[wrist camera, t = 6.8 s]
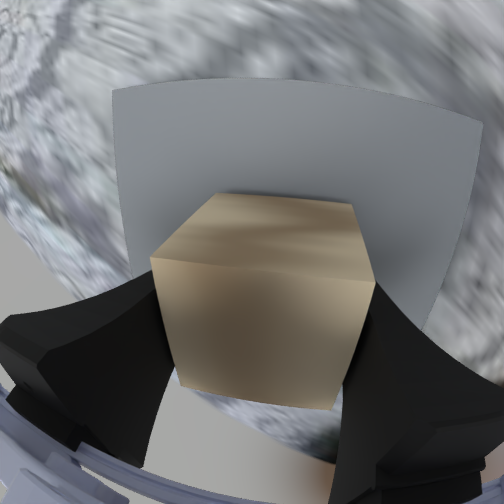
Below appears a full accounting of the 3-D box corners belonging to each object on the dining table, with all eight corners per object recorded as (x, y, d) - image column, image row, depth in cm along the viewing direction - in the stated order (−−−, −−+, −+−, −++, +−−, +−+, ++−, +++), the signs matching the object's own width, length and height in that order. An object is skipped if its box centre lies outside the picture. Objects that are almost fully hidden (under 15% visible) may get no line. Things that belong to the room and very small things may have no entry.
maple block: (351, 204, 10) (375, 282, 6) (332, 313, 12) (331, 410, 8) (216, 193, 11) (149, 256, 6) (221, 299, 13) (181, 385, 9)
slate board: (470, 120, 9) (483, 122, 8) (397, 354, 16) (400, 368, 15) (126, 89, 11) (112, 90, 10) (153, 317, 18) (145, 329, 17)
